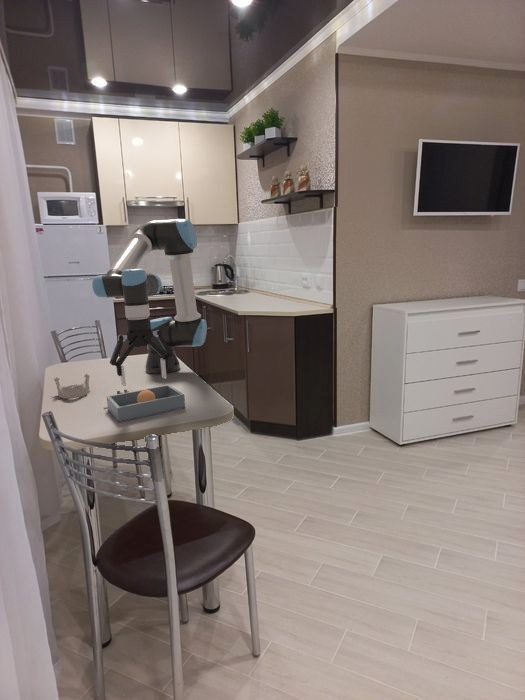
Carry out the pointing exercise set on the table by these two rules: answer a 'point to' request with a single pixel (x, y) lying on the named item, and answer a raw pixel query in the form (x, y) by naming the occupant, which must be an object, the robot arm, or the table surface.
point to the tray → (145, 403)
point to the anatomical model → (73, 389)
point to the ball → (145, 396)
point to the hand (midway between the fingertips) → (144, 381)
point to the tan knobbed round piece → (122, 392)
